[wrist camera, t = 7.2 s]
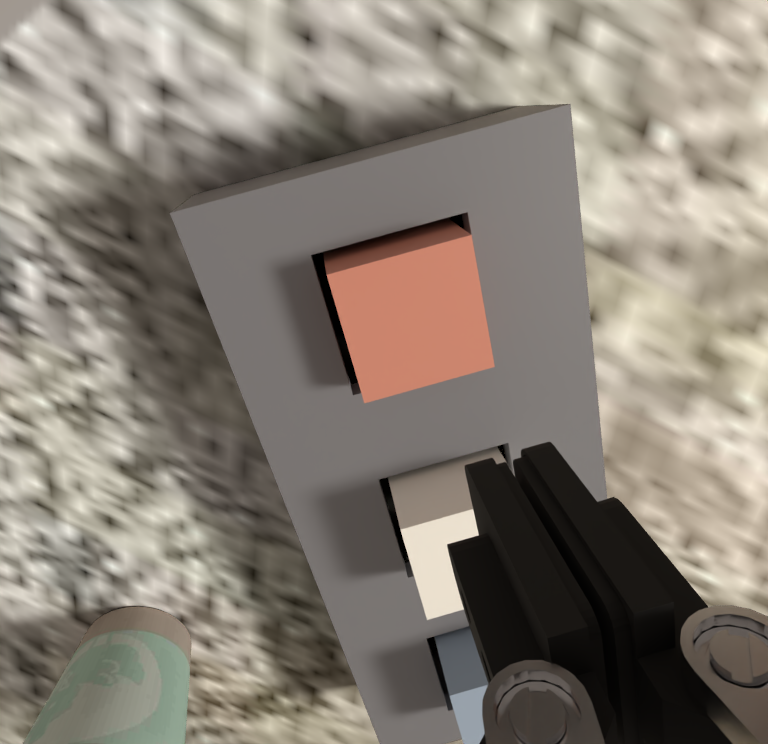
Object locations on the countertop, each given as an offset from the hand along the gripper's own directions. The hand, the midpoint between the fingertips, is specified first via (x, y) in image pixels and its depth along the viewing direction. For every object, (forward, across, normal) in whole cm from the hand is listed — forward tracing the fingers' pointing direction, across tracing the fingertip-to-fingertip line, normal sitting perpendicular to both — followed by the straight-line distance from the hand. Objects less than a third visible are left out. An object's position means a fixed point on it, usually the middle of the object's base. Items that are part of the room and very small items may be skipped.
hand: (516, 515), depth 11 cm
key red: (+15, 0, 0) cm, 15 cm away
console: (+17, 0, +10) cm, 20 cm away
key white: (+14, 0, +10) cm, 17 cm away
